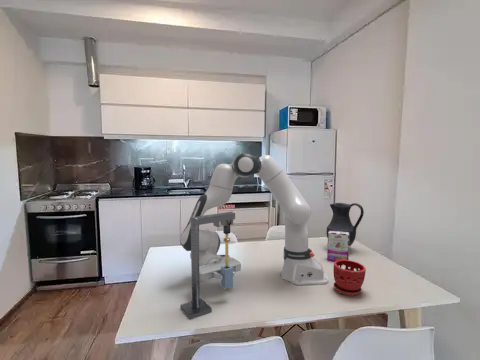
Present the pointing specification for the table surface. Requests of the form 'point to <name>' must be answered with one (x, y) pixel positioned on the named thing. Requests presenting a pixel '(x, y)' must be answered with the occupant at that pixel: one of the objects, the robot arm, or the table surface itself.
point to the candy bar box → (338, 246)
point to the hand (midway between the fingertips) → (228, 276)
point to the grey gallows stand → (197, 304)
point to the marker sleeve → (227, 277)
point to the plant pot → (348, 277)
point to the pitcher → (344, 220)
